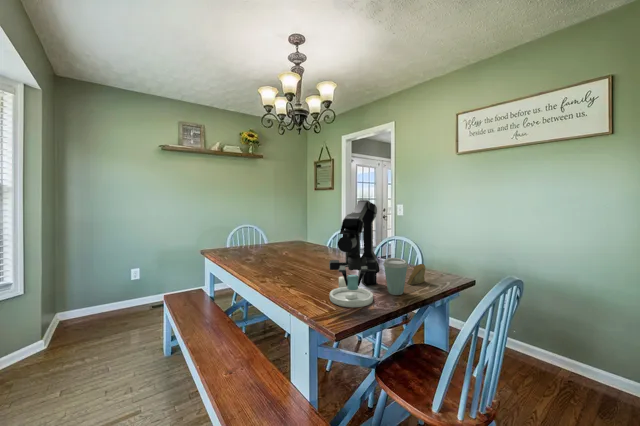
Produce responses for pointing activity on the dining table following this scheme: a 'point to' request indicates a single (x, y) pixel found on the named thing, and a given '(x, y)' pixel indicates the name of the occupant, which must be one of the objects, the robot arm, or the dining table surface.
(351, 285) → the teal bead
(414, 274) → the brown bread wedge
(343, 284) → the cream bead
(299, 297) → the dining table surface
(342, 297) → the groove dish
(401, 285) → the disposable coffee cup
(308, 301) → the dining table surface
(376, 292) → the dining table surface
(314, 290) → the dining table surface
